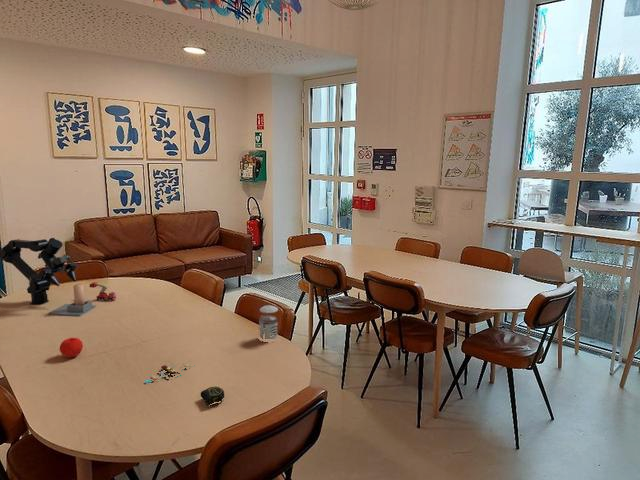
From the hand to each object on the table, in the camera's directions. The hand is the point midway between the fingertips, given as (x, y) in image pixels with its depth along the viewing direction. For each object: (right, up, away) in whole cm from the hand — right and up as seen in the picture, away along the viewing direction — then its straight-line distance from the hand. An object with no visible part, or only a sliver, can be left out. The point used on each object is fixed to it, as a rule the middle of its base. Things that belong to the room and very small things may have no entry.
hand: (67, 283), depth 220 cm
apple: (+32, -24, -50) cm, 64 cm away
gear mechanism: (+74, -28, -61) cm, 100 cm away
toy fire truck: (+10, -11, +18) cm, 23 cm away
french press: (+106, -22, -28) cm, 112 cm away
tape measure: (+94, -31, -79) cm, 127 cm away
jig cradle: (+3, -14, -1) cm, 14 cm away
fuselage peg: (+7, -13, -1) cm, 15 cm away
